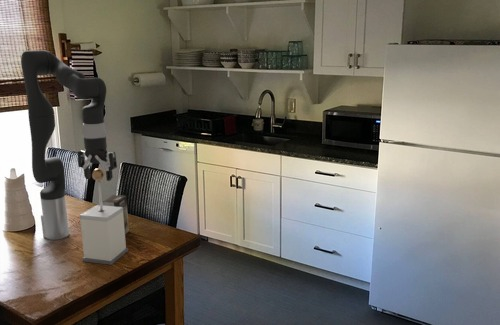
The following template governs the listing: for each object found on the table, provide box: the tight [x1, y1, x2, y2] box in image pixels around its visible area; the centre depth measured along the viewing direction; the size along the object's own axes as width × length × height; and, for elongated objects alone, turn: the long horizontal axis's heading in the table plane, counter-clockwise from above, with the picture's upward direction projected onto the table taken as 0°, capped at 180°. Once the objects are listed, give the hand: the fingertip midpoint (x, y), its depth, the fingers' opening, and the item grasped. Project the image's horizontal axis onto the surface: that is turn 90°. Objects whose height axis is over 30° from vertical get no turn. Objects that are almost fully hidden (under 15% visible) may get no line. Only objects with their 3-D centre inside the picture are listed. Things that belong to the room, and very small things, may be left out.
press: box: [79, 204, 129, 266], centre depth 177 cm, size 12×15×18 cm
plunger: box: [91, 167, 106, 212], centre depth 171 cm, size 4×4×20 cm
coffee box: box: [102, 194, 130, 235], centre depth 195 cm, size 9×6×16 cm
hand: (98, 179), depth 170 cm, fingers open, 8 cm apart
